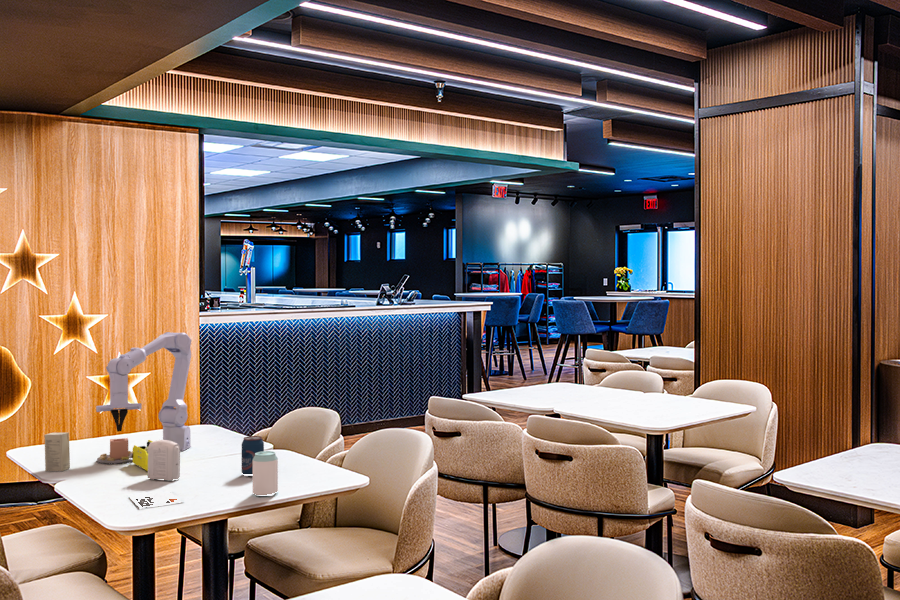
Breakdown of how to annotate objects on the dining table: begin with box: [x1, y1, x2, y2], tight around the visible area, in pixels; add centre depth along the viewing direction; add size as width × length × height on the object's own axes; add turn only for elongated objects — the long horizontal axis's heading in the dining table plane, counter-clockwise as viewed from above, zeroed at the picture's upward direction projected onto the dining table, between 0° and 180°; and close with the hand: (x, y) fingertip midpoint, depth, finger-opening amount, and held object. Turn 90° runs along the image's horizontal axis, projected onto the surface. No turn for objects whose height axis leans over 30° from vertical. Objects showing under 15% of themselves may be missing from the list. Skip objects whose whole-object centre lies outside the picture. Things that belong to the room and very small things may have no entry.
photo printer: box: [147, 439, 181, 481], centre depth 234 cm, size 10×4×12 cm, turn 72°
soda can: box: [241, 435, 265, 475], centre depth 240 cm, size 7×7×12 cm
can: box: [252, 450, 279, 496], centre depth 216 cm, size 7×7×12 cm
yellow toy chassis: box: [132, 439, 153, 472], centre depth 252 cm, size 16×6×8 cm, turn 39°
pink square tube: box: [109, 437, 129, 459], centre depth 264 cm, size 6×6×6 cm
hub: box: [96, 450, 133, 465], centre depth 263 cm, size 14×14×4 cm
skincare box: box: [44, 432, 71, 472], centre depth 248 cm, size 6×4×12 cm
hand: (119, 431), depth 263 cm, fingers closed
